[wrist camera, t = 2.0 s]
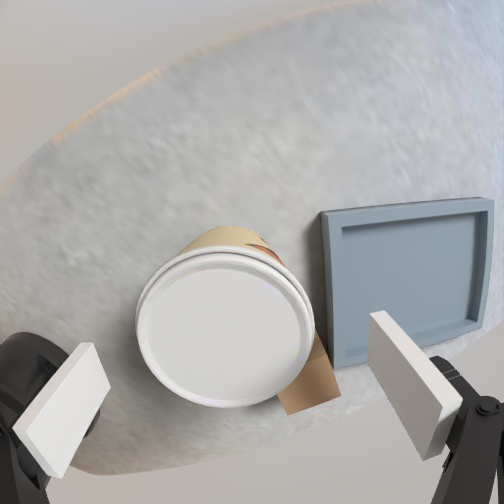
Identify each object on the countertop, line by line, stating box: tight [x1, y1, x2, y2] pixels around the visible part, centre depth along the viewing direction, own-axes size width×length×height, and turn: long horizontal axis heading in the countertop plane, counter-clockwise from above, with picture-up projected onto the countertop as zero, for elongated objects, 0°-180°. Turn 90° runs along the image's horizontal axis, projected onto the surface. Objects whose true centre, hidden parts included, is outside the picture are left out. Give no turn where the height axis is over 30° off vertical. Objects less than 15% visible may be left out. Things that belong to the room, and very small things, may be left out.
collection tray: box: [320, 197, 494, 369], centre depth 26 cm, size 18×14×2 cm
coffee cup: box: [135, 226, 315, 408], centre depth 20 cm, size 9×9×12 cm
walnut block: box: [277, 329, 341, 415], centre depth 26 cm, size 5×5×5 cm
